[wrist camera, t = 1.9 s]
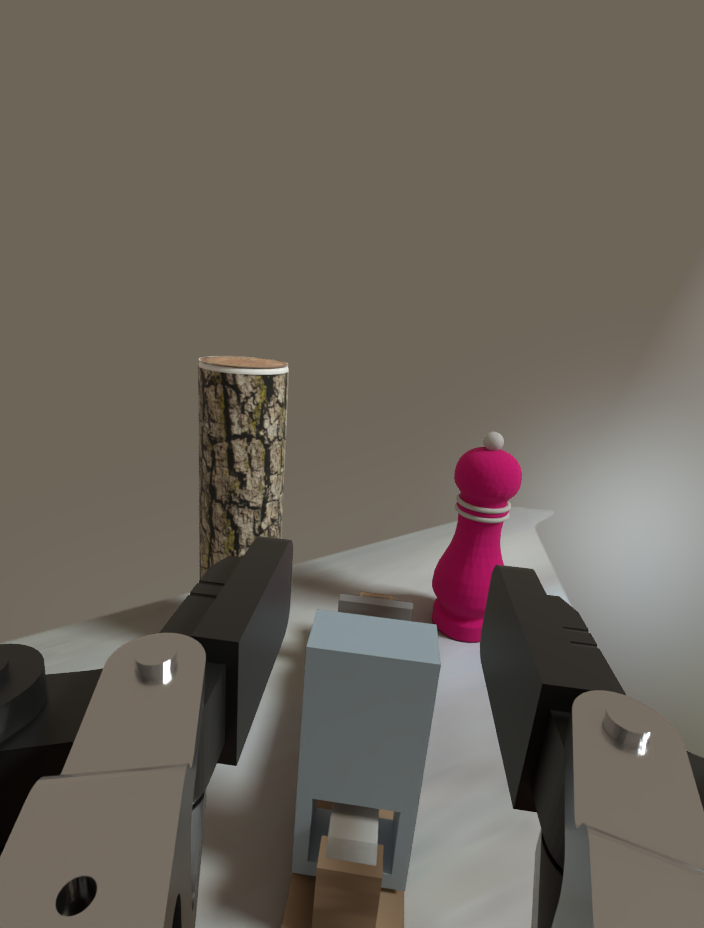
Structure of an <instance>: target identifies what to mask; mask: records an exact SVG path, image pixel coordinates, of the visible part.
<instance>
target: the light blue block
mask: <svg viewBox="0 0 704 928" xmlns="http://www.w3.org/2000/svg"><path fill="white" fill-rule="evenodd" d="M440 666H441V662H440V652H439V643H438V633H437V625H435V624H428V623H420V622H412V621H404V620H396V619H389V618H381V617H373V616H365V615H357V614H350V613H342V612H334V611H326V610H318V609H317V612H316V615H315V619H314V622H313V625H312V629H311V632H310V636H309V639H308V642H307V646H306V658H305V674H304V689H303V704H302V720H301V735H300V750H299V766H298V781H297V796H296V812H295V827H294V842H293V857H292V873H298V874H304V875H310V876H316V871H317V863H318V857H319V850H320V844H321V838H322V836H328V833H329V826H330V819H331V812H332V810H328V809H321V808H317V800H324V801H331V802H337V803H344V804H350V805H357V806H363V807H370V808H376V809H382V810H389V811H394V814H393V820H392V819H385V818H379V823H378V842H377V844H379V845H384V849H383V875H382V885H381V887H383V888H389V889H395V890H401V891H405V887H406V881H407V874H408V868H409V862H410V855H411V849H412V843H413V836H414V830H415V824H416V818H417V811H418V805H419V799H420V792H421V786H422V780H423V773H424V767H425V761H426V755H427V748H428V742H429V736H430V729H431V723H432V717H433V711H434V704H435V698H436V692H437V685H438V679H439V673H440Z"/></svg>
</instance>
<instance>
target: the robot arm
mask: <svg viewBox="0 0 704 928" xmlns="http://www.w3.org/2000/svg"><path fill="white" fill-rule="evenodd" d="M292 559H293V544H292V541H291V540H286V539H278V538H269V537H261V536H257V537H256V538H255V539H254V541H253V542H252V544H251V546H250V547H249V549H248V550H247V552H246V553H245V555H244V556H243V557H235V556H228V557H226V558H224V559H222V560H221V561H219V562H217V563H215V564H214V565H212V566H210V567H209V569H208V570H207V571H206V573H205V574H204V575H203V576H202V578H201V579H200V581H199V583H197V584H196V586H195V587H194V588H193V590H192V591H191V592H190V595H188V596H187V597H186V599H185V600H184V601H183V603H182V604H181V605H180V607H179V608H178V609H177V611H176V612H175V613H174V615H173V616H172V617H171V619H170V620H169V621H168V622H167V624H166V625H165V626H164V628H163V629H162V630H161V632H160V633H156V634H150V635H146V636H143V637H139V638H137V639H134V640H132V641H130V642H128V643H126V644H124V645H123V646H121V647H120V648H118V649H117V650H116V651H115V652H114V653H113V654H112V655H111V656H110V657H109V658H108V660H107V662H106V664H105V666H104V668H103V669H97V670H90V671H80V672H69V673H59V674H48V675H45V666H44V659H43V656H42V654H41V653H40V652H39V651H38V650H36V649H34V648H32V647H29V646H26V645H21V644H0V928H195V921H196V910H197V898H198V887H199V876H200V865H201V854H202V843H203V832H204V821H205V810H206V787H207V785H208V783H209V781H210V778H211V776H212V774H213V771H214V769H215V766H216V764H217V763H221V764H227V765H234V766H237V763H238V760H239V758H240V755H241V752H242V750H243V747H244V744H245V741H246V739H247V736H248V733H249V731H250V728H251V725H252V722H253V720H254V717H255V714H256V712H257V709H258V706H259V703H260V701H261V698H262V695H263V693H264V690H265V687H266V684H267V682H268V679H269V676H270V674H271V671H272V668H273V666H274V663H275V660H276V657H277V655H278V652H279V649H280V647H281V644H282V641H283V638H284V636H285V632H286V628H287V624H288V618H289V611H290V597H291V578H292ZM480 657H481V664H482V668H483V673H484V678H485V682H486V687H487V691H488V696H489V700H490V705H491V709H492V714H493V719H494V723H495V728H496V732H497V737H498V741H499V746H500V750H501V755H502V759H503V764H504V769H505V773H506V778H507V782H508V787H509V791H510V796H511V800H512V805H513V809H518V810H525V811H531V812H537V814H538V818H539V822H540V825H541V830H540V834H539V838H538V842H537V846H536V852H535V869H534V887H533V906H532V925H531V928H704V758H702V757H699V756H697V755H694V754H692V753H690V752H688V751H686V748H685V745H684V742H683V740H682V738H681V736H680V735H679V733H678V732H677V730H676V729H675V728H674V727H673V726H672V724H671V723H670V722H668V721H667V720H666V719H665V718H664V717H663V716H662V715H660V714H659V713H658V712H656V711H655V710H653V709H652V708H651V707H649V706H647V705H646V704H644V703H642V702H640V701H638V700H636V699H633V698H631V697H628V696H626V694H625V692H624V691H623V689H622V687H621V685H620V684H619V682H618V680H617V678H616V677H615V675H614V673H613V672H612V670H611V668H610V666H609V665H608V663H607V661H606V659H605V658H604V656H603V654H602V652H601V651H600V649H598V648H597V644H596V642H595V640H594V639H593V637H592V635H591V633H588V628H587V627H586V625H585V623H584V621H583V620H582V618H581V616H580V614H579V613H578V612H577V611H576V610H575V609H573V608H572V607H571V606H570V605H569V604H568V603H566V602H565V601H564V600H563V599H562V598H560V597H559V596H551V595H546V593H545V591H544V589H543V587H542V585H541V583H540V581H539V579H538V577H537V575H536V573H535V571H534V570H533V569H528V568H519V567H511V566H502V565H495V567H494V568H493V571H492V575H491V580H490V585H489V591H488V596H487V602H486V607H485V613H484V618H483V624H482V630H481V638H480Z"/></svg>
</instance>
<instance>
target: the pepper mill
mask: <svg viewBox="0 0 704 928" xmlns="http://www.w3.org/2000/svg"><path fill="white" fill-rule="evenodd" d="M483 443H484V446H485V447H479V448H474V449H471V450H469V451H468V452H466V453H465V454H464V455H462V457H461V458H460V459H459V461H458V463H457V465H456V469H455V476H454V479H455V483H456V485H457V487H458V488H459V490H460V491H461V493H460V494H458V495H457V497H456V500H457V503H456V505H455V510H456V511H457V512H458V523H457V527H456V531H455V534H454V537H453V539H452V541H451V543H450V545H449V546H448V548H447V550H446V551H445V553H444V554H443V556H442V557H441V559H440V560H439V562H438V564H437V566H436V568H435V571H434V575H433V580H432V587H433V590H434V593H435V595H436V596H437V599H436V600H435V602H434V607H433V613H432V620H433V623H434V624H435V625H437V629H438V630H440V631H441V632H442V633H443V634H445V635H447V636H449V637H451V638H453V639H456V640H459V641H464V642H480V638H481V630H482V624H483V618H484V613H485V607H486V602H487V596H488V591H489V585H490V580H491V575H492V571H493V568H494V567H495V565H502V566H504V564H503V560H502V556H501V549H500V536H501V529H502V525H503V522H504V521H506V520H507V519H508V518H509V510H510V508H511V504H510V503H509V501H508V500H509V499H510V498H512V497H513V496H515V494H516V493H517V492H518V490H519V489H520V485H521V480H522V472H521V468H520V465H519V463H518V462H517V460H516V459H515V458H514V457H513V456H512V455H511V454H509V453H507V452H505V451H503V450H501V449H500V448H502V446H503V443H504V440H503V437H502V436H501V435H500V434H499V433H497V432H490V433H488V434H487V435H486V436H485V437H484V440H483Z"/></svg>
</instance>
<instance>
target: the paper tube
mask: <svg viewBox="0 0 704 928" xmlns="http://www.w3.org/2000/svg"><path fill="white" fill-rule="evenodd" d="M199 360H200V363H199V366H198V378H199V379H198V384H199V385H198V386H199V526H200V527H199V533H200V579H201V578H202V576H203V575H204V574H205V573H206V571H207V570H208V569H209V567H210V566H212V565H214V564H215V563H217V562H219V561H221V560H222V559H224V558H226V557H228V556H235V557H243V556H244V555H245V553H246V552H247V550H248V549H249V547H250V546H251V544H252V542H253V541H254V539H255V538H256V537H257V536H261V537H269V538H278V539H281V533H282V511H283V489H284V466H285V443H286V422H287V399H288V378H289V370H288V367H287V366H288V365H289V364H288V363H286V362H282V361H278V360H272V359H264V358H253V357H239V356H209V357H202V358H199Z"/></svg>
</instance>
